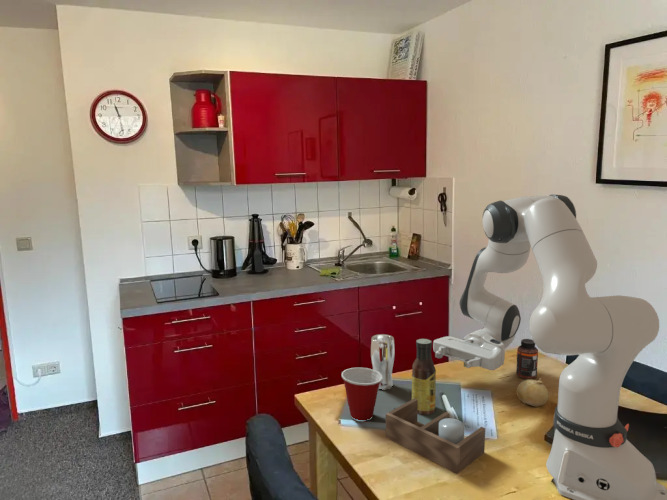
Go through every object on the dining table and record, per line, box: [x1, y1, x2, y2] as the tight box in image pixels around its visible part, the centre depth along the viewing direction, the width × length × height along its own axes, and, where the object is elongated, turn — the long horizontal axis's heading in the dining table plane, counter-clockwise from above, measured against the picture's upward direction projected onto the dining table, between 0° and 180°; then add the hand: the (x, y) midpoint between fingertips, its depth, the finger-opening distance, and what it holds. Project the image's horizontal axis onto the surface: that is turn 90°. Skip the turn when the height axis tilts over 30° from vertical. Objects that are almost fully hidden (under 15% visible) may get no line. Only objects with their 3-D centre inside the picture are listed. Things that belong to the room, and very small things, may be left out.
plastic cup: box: [341, 367, 383, 420], centre depth 131 cm, size 11×11×12 cm
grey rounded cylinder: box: [439, 417, 465, 444], centre depth 113 cm, size 6×6×7 cm
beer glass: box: [370, 333, 395, 391], centre depth 148 cm, size 7×7×15 cm
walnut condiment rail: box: [385, 398, 486, 475], centre depth 116 cm, size 20×11×7 cm, turn 43°
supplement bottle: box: [515, 338, 539, 380], centre depth 153 cm, size 6×6×11 cm
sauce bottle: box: [411, 338, 437, 416], centre depth 132 cm, size 6×6×20 cm
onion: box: [516, 377, 549, 407], centre depth 137 cm, size 8×8×7 cm
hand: (451, 360), depth 140 cm, fingers open, 8 cm apart
